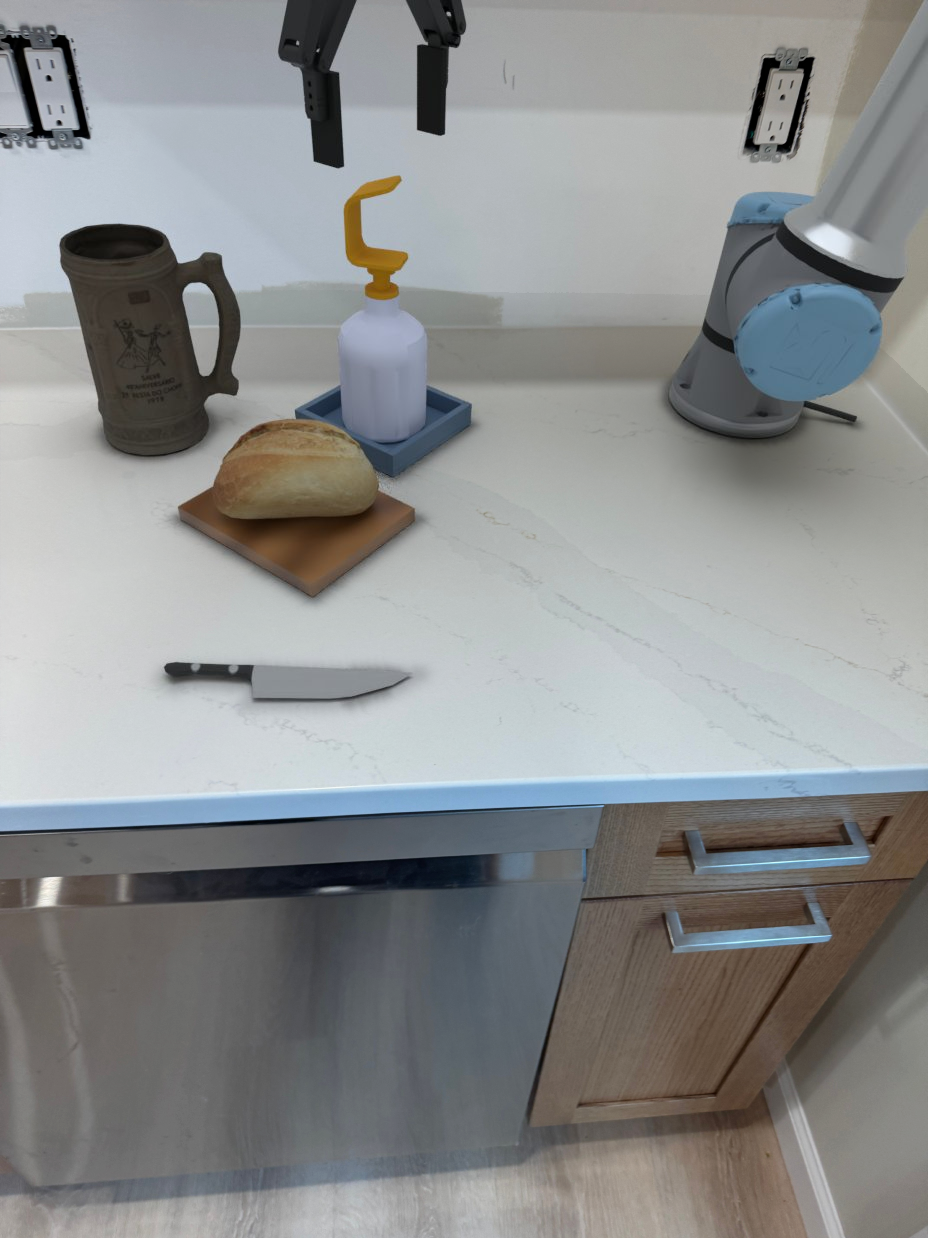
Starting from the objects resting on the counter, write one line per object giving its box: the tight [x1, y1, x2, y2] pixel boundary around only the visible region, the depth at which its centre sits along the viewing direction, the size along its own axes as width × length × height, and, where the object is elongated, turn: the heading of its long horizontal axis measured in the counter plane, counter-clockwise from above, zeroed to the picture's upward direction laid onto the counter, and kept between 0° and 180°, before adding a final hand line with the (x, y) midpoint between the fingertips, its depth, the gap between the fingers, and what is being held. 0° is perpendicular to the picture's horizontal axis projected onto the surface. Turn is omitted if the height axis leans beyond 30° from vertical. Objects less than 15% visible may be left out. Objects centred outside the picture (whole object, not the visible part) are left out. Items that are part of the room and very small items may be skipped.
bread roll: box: [212, 418, 380, 519], centre depth 74 cm, size 10×15×8 cm, turn 103°
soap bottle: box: [337, 174, 428, 443], centre depth 81 cm, size 9×9×25 cm
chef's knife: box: [163, 661, 413, 700], centre depth 63 cm, size 19×1×3 cm
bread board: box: [177, 486, 416, 598], centre depth 77 cm, size 17×14×2 cm
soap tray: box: [294, 384, 473, 478], centre depth 90 cm, size 14×14×3 cm
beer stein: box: [58, 223, 242, 456], centre depth 82 cm, size 15×11×20 cm
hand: (382, 147), depth 71 cm, fingers open, 13 cm apart
